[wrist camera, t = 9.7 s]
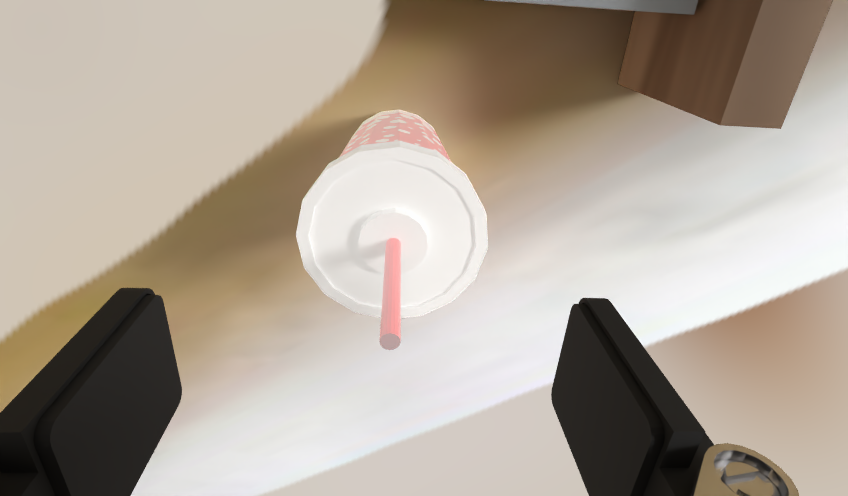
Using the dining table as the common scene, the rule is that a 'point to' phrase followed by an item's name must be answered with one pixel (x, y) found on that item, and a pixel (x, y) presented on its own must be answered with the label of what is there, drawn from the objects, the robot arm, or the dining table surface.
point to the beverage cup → (392, 224)
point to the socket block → (623, 5)
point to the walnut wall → (725, 58)
